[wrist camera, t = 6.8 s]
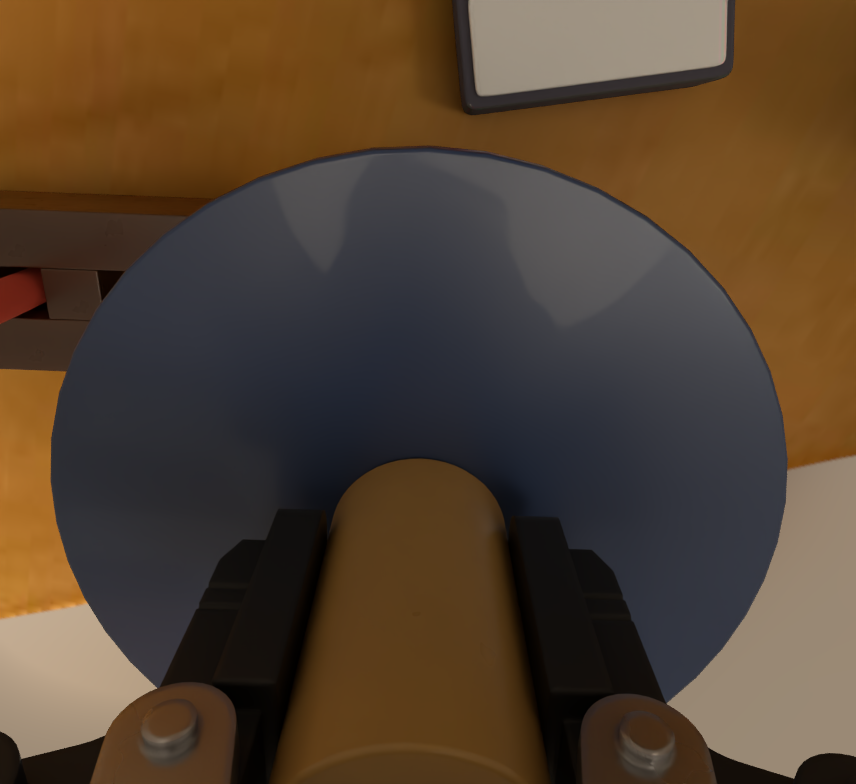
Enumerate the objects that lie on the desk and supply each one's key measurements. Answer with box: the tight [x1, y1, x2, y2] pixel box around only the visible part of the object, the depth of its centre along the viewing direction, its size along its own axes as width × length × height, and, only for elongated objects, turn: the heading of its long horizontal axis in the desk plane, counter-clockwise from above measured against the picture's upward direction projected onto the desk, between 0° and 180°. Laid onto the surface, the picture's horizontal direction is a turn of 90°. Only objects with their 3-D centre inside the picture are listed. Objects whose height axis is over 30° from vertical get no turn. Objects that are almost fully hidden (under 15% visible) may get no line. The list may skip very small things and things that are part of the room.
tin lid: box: [51, 146, 787, 784], centre depth 10 cm, size 13×13×7 cm
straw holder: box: [0, 191, 214, 371], centre depth 31 cm, size 7×16×6 cm, turn 88°
